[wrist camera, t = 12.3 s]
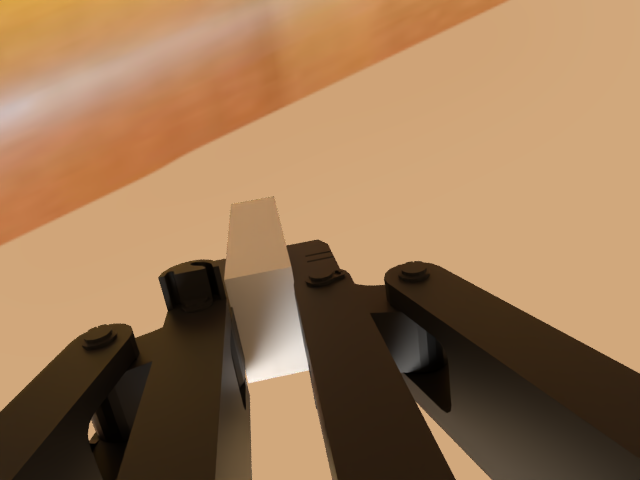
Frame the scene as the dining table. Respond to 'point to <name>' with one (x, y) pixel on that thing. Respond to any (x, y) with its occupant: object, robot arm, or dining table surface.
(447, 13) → the dining table surface
